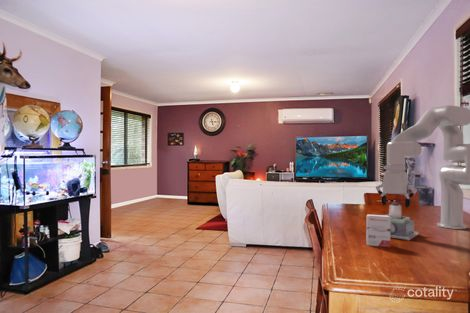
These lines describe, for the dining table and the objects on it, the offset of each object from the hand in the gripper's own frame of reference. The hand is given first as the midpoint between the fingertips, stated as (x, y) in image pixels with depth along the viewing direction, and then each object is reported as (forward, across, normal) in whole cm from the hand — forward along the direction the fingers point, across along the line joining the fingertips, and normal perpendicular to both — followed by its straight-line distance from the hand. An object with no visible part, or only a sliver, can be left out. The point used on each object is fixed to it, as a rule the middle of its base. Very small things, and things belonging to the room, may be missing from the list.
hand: (395, 206), depth 151 cm
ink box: (+13, +1, -26) cm, 29 cm away
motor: (+13, 0, -1) cm, 13 cm away
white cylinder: (+6, 0, 0) cm, 7 cm away
